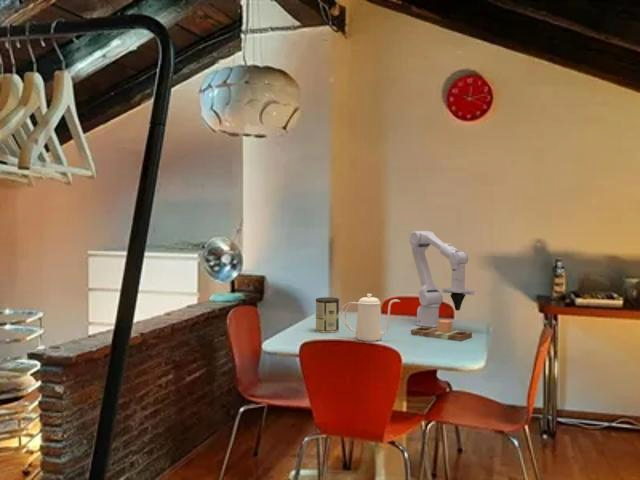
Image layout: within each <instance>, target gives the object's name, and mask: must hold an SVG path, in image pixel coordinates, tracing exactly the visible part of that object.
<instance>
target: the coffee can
mask: <svg viewBox="0 0 640 480" xmlns="http://www.w3.org/2000/svg"><path fill="white" fill-rule="evenodd" d="M339 303H340V298H338V297H326V296H325V297H317V298H315V331H316V332H318V333H322V334H323V333H325V334H326V333H327V334H331V333H337V332H338V333H339V330H340V329H339V328H340V325H339V324H340V321H339V320H340V319H339V318H340V315H339V314H340V313H339V311H340V304H339Z"/></svg>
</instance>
